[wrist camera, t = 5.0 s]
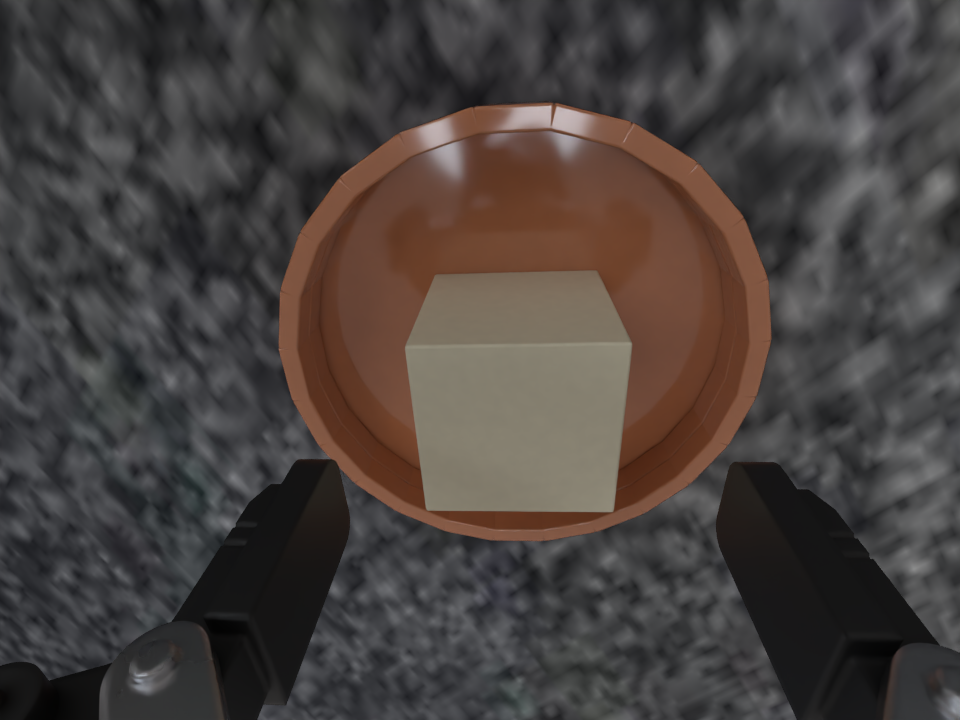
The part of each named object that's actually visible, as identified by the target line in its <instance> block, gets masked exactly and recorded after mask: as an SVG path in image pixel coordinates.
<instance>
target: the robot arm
mask: <svg viewBox="0 0 960 720" xmlns="http://www.w3.org/2000/svg"><path fill="white" fill-rule="evenodd" d="M349 528H350V515H349V509H348V505H347V501H346V497H345V492H344V488H343V484H342V479H341V475H340V471H339V467H338V464H337V462H336V461H335V460H333V459H299V460H297V461H296V462H295V463H294V464H293V466H292V467H291V469H290V471H289V472H288V474H287V476H286V477H285V479H284V481H283V482H282V484H271V485H269V486H268V487H267V488H266V489H265V490H263V491H262V492H261V493H260V494H259V495H257V496H256V497H255V498H254V499H253V500H252V501H250V502H249V504H248V505H247V507H246V508H245V510H244V511H243V513H242V515H241V516H240V518H239V519H238V521H237V522H236V527H235V528H232V530H231V532H230V533H229V535H228V536H227V538H226V539H225V541H224V546H221V547H220V548H219V550H218V552H217V553H216V555H215V556H214V558H213V559H212V561H211V562H210V564H209V565H208V567H207V569H206V570H205V572H204V573H203V575H202V576H201V578H200V579H199V581H198V582H197V584H196V586H195V587H194V589H193V590H192V592H191V593H190V595H189V596H188V598H187V599H186V601H185V602H184V604H183V606H182V607H181V609H180V610H179V612H178V613H177V615H176V616H175V618H174V619H173V620H172V622H170V623H167V624H163V625H161V626H158V627H156V628H153V629H152V630H150V631H148V632H146V633H144V634H143V635H141V636H140V637H138V638H137V639H135V640H134V641H133V642H132V643H131V644H129V645H128V646H127V647H126V648H125V649H124V650H123V651H122V652H121V653H120V654H119V655H118V656H117V658H116V659H115V660H114V661H113V663H110V664H107V665H104V666H100V667H96V668H93V669H89V670H86V671H82V672H78V673H75V674H71V675H68V676H64V677H60V678H57V679H53V680H50V681H49V680H48V679H47V678H46V676H45V675H44V674H43V673H42V671H41V670H40V669H39V668H38V667H37V666H36V665H34V664H32V663H28V662H15V663H9V664H5V665H2V666H0V720H257V718H258V716H259V713H260V711H261V709H262V706H263V704H266V705H286V704H287V701H288V698H289V696H290V693H291V690H292V688H293V685H294V682H295V680H296V677H297V674H298V672H299V669H300V666H301V664H302V661H303V658H304V656H305V653H306V650H307V648H308V645H309V642H310V640H311V637H312V634H313V632H314V629H315V626H316V624H317V621H318V618H319V616H320V613H321V610H322V607H323V605H324V602H325V599H326V597H327V594H328V591H329V589H330V586H331V583H332V581H333V578H334V575H335V573H336V570H337V567H338V565H339V562H340V559H341V557H342V554H343V551H344V549H345V546H346V543H347V540H348V535H349ZM716 532H717V539H718V543H719V547H720V550H721V552H722V555H723V557H724V559H725V561H726V563H727V566H728V568H729V570H730V572H731V574H732V577H733V579H734V581H735V583H736V586H737V588H738V590H739V592H740V594H741V597H742V599H743V601H744V603H745V606H746V608H747V610H748V612H749V614H750V617H751V619H752V621H753V623H754V626H755V628H756V630H757V632H758V634H759V637H760V639H761V641H762V643H763V646H764V648H765V650H766V652H767V654H768V657H769V659H770V661H771V663H772V666H773V668H774V670H775V672H776V674H777V677H778V679H779V681H780V683H781V686H782V688H783V690H784V692H785V694H786V697H787V699H788V701H789V703H790V706H791V708H792V710H793V712H794V714H795V717H796V719H797V720H960V653H959V652H956V651H954V650H952V649H949V648H946V647H943V646H940V645H939V643H938V642H937V641H936V640H935V639H934V637H933V636H932V635H931V633H930V632H929V631H928V630H927V628H926V627H925V626H924V624H923V623H922V622H921V620H920V619H919V618H918V617H917V615H916V614H915V613H914V611H913V610H912V609H911V607H910V606H909V605H908V604H907V602H906V601H905V600H904V598H903V597H902V596H901V594H900V593H899V592H898V591H897V589H896V588H895V587H894V585H893V584H892V583H891V581H890V580H889V579H888V578H887V576H886V575H885V574H884V572H883V571H882V570H881V568H880V567H879V566H878V565H877V563H876V562H875V561H874V559H870V557H869V553H868V552H867V550H866V549H865V548H864V546H863V545H862V544H861V542H860V541H859V540H858V539H855V538H854V533H853V532H852V531H851V529H850V528H849V527H848V526H847V524H846V523H845V522H844V520H843V519H842V518H841V516H840V515H839V514H838V513H837V511H836V510H835V509H834V508H832V507H831V506H830V505H828V504H827V503H826V502H824V501H823V500H822V499H820V498H819V497H818V496H816V495H815V494H814V493H812V492H811V491H810V490H807V489H797V488H796V487H795V486H794V484H793V483H792V481H791V480H790V479H789V477H788V476H787V474H786V473H785V472H784V470H783V469H782V468H781V466H780V465H778V464H777V463H775V462H734V463H732V464H731V465H730V467H729V470H728V474H727V478H726V482H725V486H724V490H723V494H722V499H721V503H720V507H719V511H718V515H717V520H716Z"/></svg>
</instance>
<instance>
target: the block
mask: <svg viewBox="0 0 960 720" xmlns="http://www.w3.org/2000/svg"><path fill="white" fill-rule="evenodd" d="M405 353H406V361H407V369H408V376H409V384H410V391H411V399H412V406H413V414H414V422H415V429H416V437H417V444H418V452H419V460H420V467H421V475H422V482H423V490H424V498H425V505H426V509H427V510H428V511H524V512H613V511H614V505H615V496H616V487H617V478H618V469H619V460H620V451H621V442H622V433H623V424H624V416H625V407H626V398H627V389H628V380H629V371H630V362H631V353H632V342H631V340H630V338H629V336H628V333H627V331H626V329H625V327H624V325H623V323H622V321H621V319H620V317H619V315H618V313H617V310H616V308H615V306H614V304H613V302H612V300H611V298H610V296H609V294H608V292H607V290H606V287H605V285H604V283H603V281H602V279H601V277H600V275H599V273H598V271H596V270H585V271H546V272H508V273H469V274H436V275H435V276H434V279H433V281H432V283H431V286H430V288H429V291H428V293H427V295H426V298H425V300H424V303H423V305H422V307H421V310H420V312H419V315H418V317H417V319H416V322H415V324H414V327H413V329H412V331H411V334H410V336H409V339H408V341H407V343H406V346H405Z"/></svg>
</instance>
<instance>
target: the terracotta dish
mask: <svg viewBox="0 0 960 720" xmlns="http://www.w3.org/2000/svg"><path fill="white" fill-rule="evenodd" d="M585 270H596V271H598V273H599V275H600V277H601V279H602V281H603V283H604V285H605V287H606V290H607V292H608V294H609V296H610V298H611V300H612V302H613V304H614V306H615V308H616V310H617V313H618V315H619V317H620V319H621V321H622V323H623V325H624V327H625V329H626V331H627V333H628V336H629V338H630V340H631V342H632V353H631V362H630V371H629V380H628V389H627V398H626V407H625V416H624V424H623V433H622V442H621V451H620V460H619V469H618V478H617V487H616V496H615V505H614V511H613V512H524V511H428V510H427V509H426V505H425V498H424V490H423V482H422V475H421V467H420V460H419V452H418V444H417V437H416V429H415V422H414V414H413V406H412V399H411V391H410V384H409V376H408V369H407V361H406V353H405V346H406V343H407V341H408V339H409V336H410V334H411V331H412V329H413V327H414V324H415V322H416V319H417V317H418V315H419V312H420V310H421V307H422V305H423V303H424V300H425V298H426V295H427V293H428V291H429V288H430V286H431V283H432V281H433V279H434V276H435V275H436V274H469V273H508V272H546V271H585ZM771 339H772V338H771V318H770V298H769V280H768V279H767V274H766V271H765V269H764V266H763V264H762V261H761V258H760V256H759V253H758V251H757V248H756V246H755V243H754V241H753V238H752V235H751V233H750V230H749V228H748V225H747V223H746V220H745V219H744V218H743V215H742V214H741V212H740V211H739V210H738V209H737V208H736V206H735V205H734V204H733V203H732V202H731V200H730V199H729V198H728V197H727V196H726V195H725V193H724V192H723V191H722V190H721V189H720V187H719V186H718V185H717V184H716V183H715V181H714V180H713V179H712V178H711V177H710V176H709V174H708V173H707V172H706V171H705V170H704V168H703V167H702V166H701V165H700V164H698V163H697V161H696V160H694V159H692V158H691V157H689V156H687V155H686V154H684V153H683V152H681V151H679V150H678V149H676V148H674V147H673V146H671V145H670V144H668V143H666V142H665V141H663V140H661V139H660V138H658V137H657V136H655V135H653V134H652V133H650V132H648V131H647V130H645V129H644V128H642V127H640V126H639V125H637V124H635V123H632V122H630V121H627V120H623V119H619V118H615V117H611V116H607V115H603V114H599V113H595V112H591V111H588V110H584V109H580V108H576V107H572V106H568V105H564V104H560V103H556V102H548V101H537V102H511V103H497V104H480V105H478V106H472V107H469V108H466V109H464V110H461V111H458V112H455V113H452V114H450V115H447V116H444V117H441V118H438V119H436V120H433V121H430V122H427V123H424V124H422V125H419V126H416V127H413V128H410V129H408V130H405V131H402V132H400V133H399V134H396V135H395V136H394V137H392V138H391V139H390V140H388V141H387V142H386V143H384V144H383V145H381V146H380V147H379V148H377V149H376V150H375V151H373V152H372V153H371V154H369V155H368V156H367V157H365V158H364V159H363V160H361V161H360V162H359V163H357V164H356V165H355V166H353V167H352V168H351V169H349V170H348V171H346V172H345V173H344V174H342V175H341V177H340V178H339V179H338V180H337V181H336V182H335V184H334V185H333V186H332V188H331V189H330V191H329V192H328V193H327V195H326V196H325V197H324V199H323V200H322V202H321V203H320V204H319V206H318V207H317V208H316V210H315V211H314V213H313V214H312V215H311V217H310V218H309V219H308V221H307V222H306V223H305V225H304V226H303V228H302V229H301V232H300V233H299V235H298V238H297V241H296V244H295V247H294V250H293V253H292V256H291V259H290V262H289V265H288V268H287V271H286V274H285V277H284V280H283V283H282V286H281V292H280V313H279V353H280V356H281V360H282V364H283V368H284V371H285V375H286V379H287V383H288V386H289V390H290V394H291V398H292V400H293V401H294V404H295V406H296V407H297V409H298V411H299V413H300V414H301V416H302V418H303V419H304V421H305V423H306V425H307V426H308V428H309V430H310V432H311V433H312V435H313V437H314V438H315V440H316V442H317V444H318V445H320V448H321V449H322V450H323V451H324V452H325V453H326V454H327V455H328V456H329V457H330V458H331V459H333V460H335V461H336V462H337V464H338V467H339V468H340V469H341V470H342V471H343V472H344V473H345V474H346V475H347V476H348V477H349V478H350V479H351V480H352V481H353V482H355V484H356V485H358V486H359V487H361V488H362V489H364V490H365V491H367V492H368V493H370V494H371V495H373V496H374V497H376V498H377V499H379V500H380V501H382V502H383V503H385V504H386V505H388V506H389V507H391V508H392V509H394V510H395V511H398V512H399V513H402V514H404V515H407V516H409V517H411V518H414V519H416V520H419V521H421V522H424V523H426V524H429V525H431V526H433V527H436V528H438V529H441V530H443V529H444V531H447V532H452V533H457V534H462V535H467V536H472V537H477V538H482V539H487V540H493V539H494V540H495V541H544V540H545V541H548V540H554V539H560V538H566V537H571V536H577V535H583V534H588V533H594V532H598V531H600V530H603V529H606V528H608V527H611V526H614V525H616V524H619V523H621V522H624V521H627V520H629V519H632V518H635V517H637V516H640V515H642V514H644V513H646V512H648V511H649V510H651V509H652V508H654V507H656V506H657V505H659V504H660V503H662V502H663V501H665V500H667V499H668V498H670V497H671V496H673V495H674V494H676V493H677V492H679V491H681V490H682V489H684V488H685V487H687V486H688V485H689V484H691V483H692V482H693V481H694V480H695V479H696V478H697V477H698V476H699V475H700V474H701V473H702V472H703V471H704V470H705V469H706V468H707V467H708V466H709V465H710V464H711V463H712V462H713V461H714V460H715V459H716V458H717V457H718V456H719V455H720V454H721V453H722V452H723V451H724V450H725V449H726V447H727V445H729V444H730V442H731V440H732V438H733V437H734V435H735V433H736V432H737V430H738V428H739V427H740V425H741V423H742V421H743V420H744V418H745V416H746V415H747V413H748V411H749V410H750V408H751V406H752V404H753V403H754V401H755V399H756V396H757V394H758V390H759V387H760V383H761V379H762V375H763V371H764V367H765V363H766V360H767V356H768V352H769V348H770V344H771V341H770V340H771Z"/></svg>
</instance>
